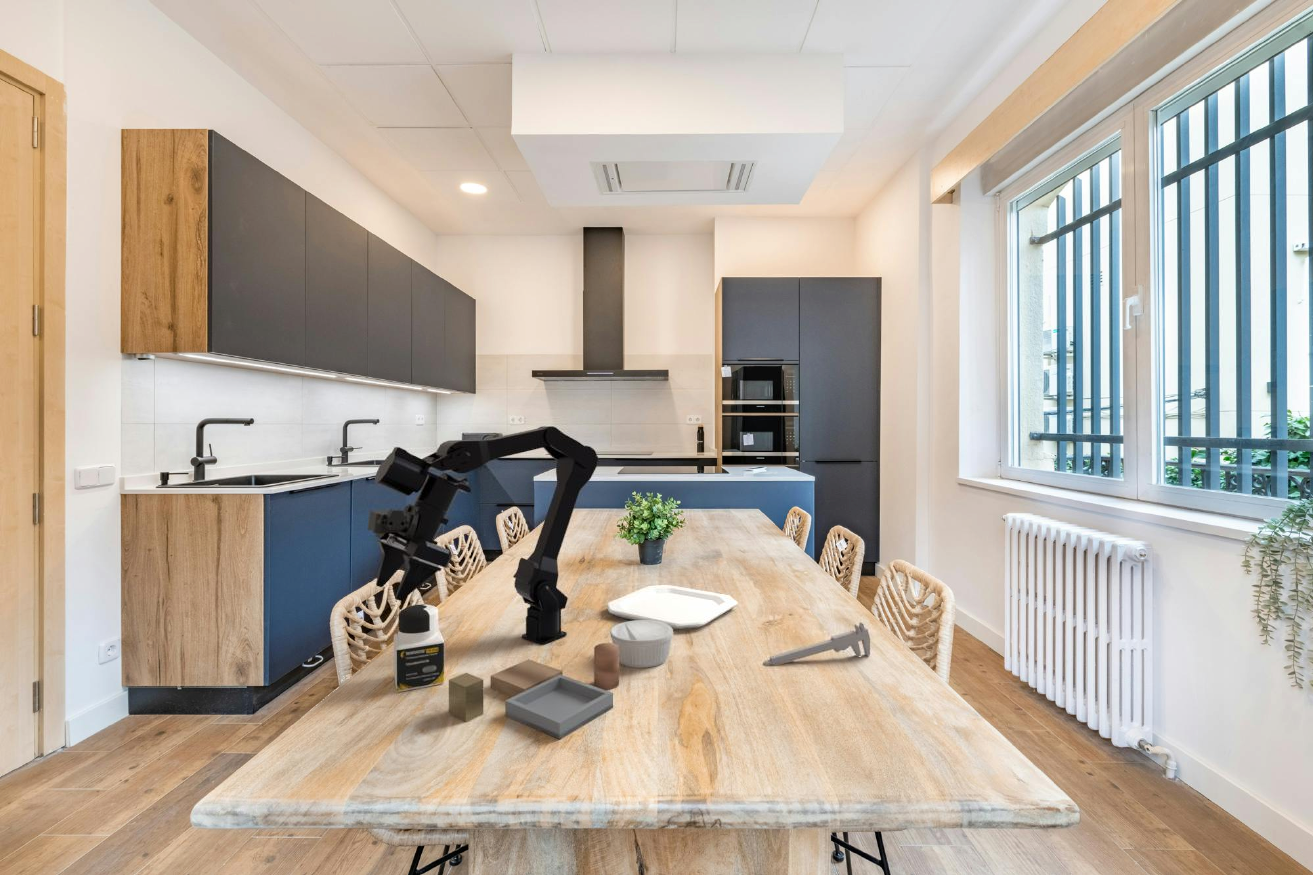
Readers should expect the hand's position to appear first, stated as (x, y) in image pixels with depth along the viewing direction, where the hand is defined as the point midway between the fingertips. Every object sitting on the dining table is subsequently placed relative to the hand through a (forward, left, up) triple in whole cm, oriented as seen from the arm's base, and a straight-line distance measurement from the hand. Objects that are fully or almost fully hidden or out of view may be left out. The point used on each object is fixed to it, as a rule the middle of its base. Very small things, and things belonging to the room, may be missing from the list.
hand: (388, 592), depth 98 cm
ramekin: (-31, +30, -14) cm, 45 cm away
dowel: (-19, +32, -14) cm, 39 cm away
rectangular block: (+1, +22, -14) cm, 26 cm away
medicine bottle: (-2, +6, -14) cm, 15 cm away
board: (-11, +22, -14) cm, 28 cm away
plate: (-57, +19, -14) cm, 62 cm away
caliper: (-49, +56, -14) cm, 75 cm away
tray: (-8, +32, -14) cm, 36 cm away
